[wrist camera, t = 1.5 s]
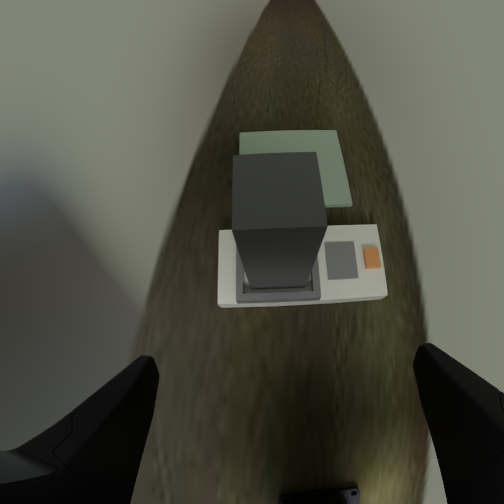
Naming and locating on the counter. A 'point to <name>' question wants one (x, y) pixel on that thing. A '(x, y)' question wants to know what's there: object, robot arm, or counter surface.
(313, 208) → the brick
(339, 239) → the power strip
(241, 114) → the counter surface
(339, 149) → the rubber mat
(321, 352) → the counter surface
